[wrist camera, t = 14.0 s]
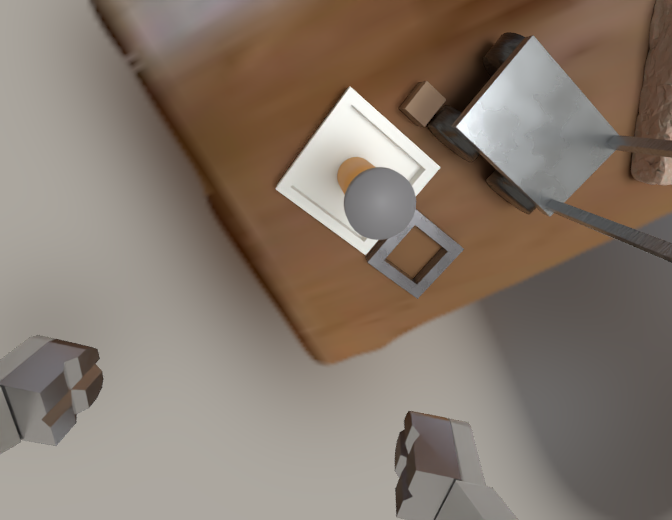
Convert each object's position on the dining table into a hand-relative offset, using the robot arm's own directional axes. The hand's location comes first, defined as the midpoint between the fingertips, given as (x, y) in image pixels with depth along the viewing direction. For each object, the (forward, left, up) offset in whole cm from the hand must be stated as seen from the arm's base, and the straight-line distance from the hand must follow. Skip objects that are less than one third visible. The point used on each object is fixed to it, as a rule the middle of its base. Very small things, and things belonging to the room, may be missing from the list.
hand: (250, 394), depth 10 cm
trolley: (+13, +17, -29) cm, 36 cm away
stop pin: (+5, +5, -28) cm, 29 cm away
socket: (+15, +2, -29) cm, 33 cm away
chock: (+5, +13, -29) cm, 32 cm away
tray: (+5, +5, -29) cm, 30 cm away
